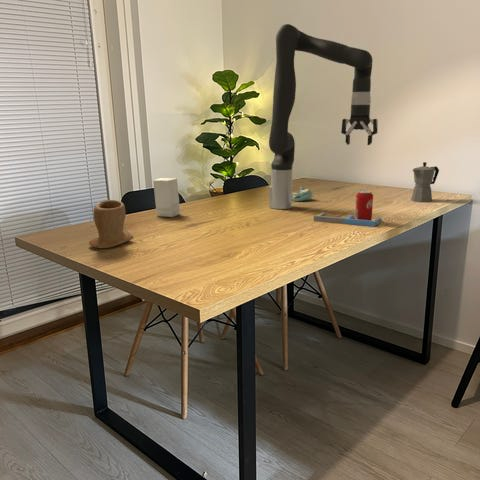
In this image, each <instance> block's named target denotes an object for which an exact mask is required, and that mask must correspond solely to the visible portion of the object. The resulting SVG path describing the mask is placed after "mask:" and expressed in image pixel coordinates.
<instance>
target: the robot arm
mask: <svg viewBox="0 0 480 480" xmlns="http://www.w3.org/2000/svg"><path fill="white" fill-rule="evenodd" d="M275 51H276V52H275V53H276V54H275V55H276V58H275V60H276V61H275V62H276V63H275V70H274V82H273V94H272V95H273V96H272V113H271V114H272V118H271V127H270V132H269V136H268V137H269V139H268V146H269V149H270V151H271V152H272V153H274V159H273V160H272V162H271V165H270V166H271V168H270V169H271V172H270V173H271V174H270V175H271V177H270V178H271V184H270V186H269V209H270V208H271V209H274V210H289V209H292V207H293V203H292V202H293V200H292V194H293V165H294V161H295V147H296V145H295V144H296V141H295V138H294V136H293V134H292V133H290V132H289V121H290V116H291V114H292V111H293V109H294V108H293V107H294V105H295V101H296V94H297V93H296V90H297V89H296V88H297V80H296V79H297V78H296V70H295V55H296V53H295V52H296V51H297V52H304V53H308V54H311V55H314V56H317V57H319V58H323V59H324V60H327V61H331V62H334V63H337V64H342V65H346V66H349V67H352V68H354V72H353V73H354V76H353V80H352V92H351V97H350V98H351V99H350V100H351V102H350V103H351V104H350V116H349V117H350V118H349V119H348V118H343V119H342V121H341V122H342V123H341V130H340V132H341V134H343V135H345V144H346V145H348V146H349V145H350V144H351V135H350V134H351V133H353V131H354V130H361V131H365V132H366V134H368V136H367V146H370V145H371V144H372V143H373V136H374V135H376V134H378V126H379V125H378V119H377V118H374V119H373V118H372V119H371V117H370V116H371V115H370V114H371V113H370V112H371V103H372V101H371V100H372V99H371V86H372V81H371V80H372V78H371V76H372V71H373V56H372V53H370V52H369V51H368V50H365V49H361V48H356V47H352V46H349V45H346V44H343V43H340V42H336V41H334V40H328V39H323V38H318V37H316V36H312V35H309V34H307V33H304V31H301V30H299V29H298V28H297V27H296V26H294V25H292V24H290V23H286V24H283V25H281V26H280V27H279V28H278V29H277V31H276V35H275ZM370 123H371V125H372V128H373V129H372V130H371V128H370V126H369V125H370ZM348 124H350V127H349V128H348V129H347V125H348Z"/></svg>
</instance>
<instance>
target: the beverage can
mask: <svg viewBox="0 0 480 480" xmlns="http://www.w3.org/2000/svg"><path fill="white" fill-rule="evenodd" d="M373 203H374V195H373V193H372V190H363V189H362V190H358V191H357V194H355V209H354V210H355V213H354V214H355V215H354V219H360V220H370V221H373V220H372V219H373V207H374V206H373Z"/></svg>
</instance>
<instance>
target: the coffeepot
mask: <svg viewBox="0 0 480 480" xmlns="http://www.w3.org/2000/svg"><path fill="white" fill-rule="evenodd" d="M422 165H423V166H419V167H418V166H417V167H414V168H413V169H412V172H413V179H414V183H415V185H414V187H413V191H412V194H411V198H410V200H411V201H412V202H417V203H430V201H431V202H432V201H433V196H432V195H433V194H432V187H431V185H433V184H435V183H436V180H437V178H438V176H439V172H440V169H439V167H438V166H430V167H429V166H427V162H426V161H425V162H422Z"/></svg>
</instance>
